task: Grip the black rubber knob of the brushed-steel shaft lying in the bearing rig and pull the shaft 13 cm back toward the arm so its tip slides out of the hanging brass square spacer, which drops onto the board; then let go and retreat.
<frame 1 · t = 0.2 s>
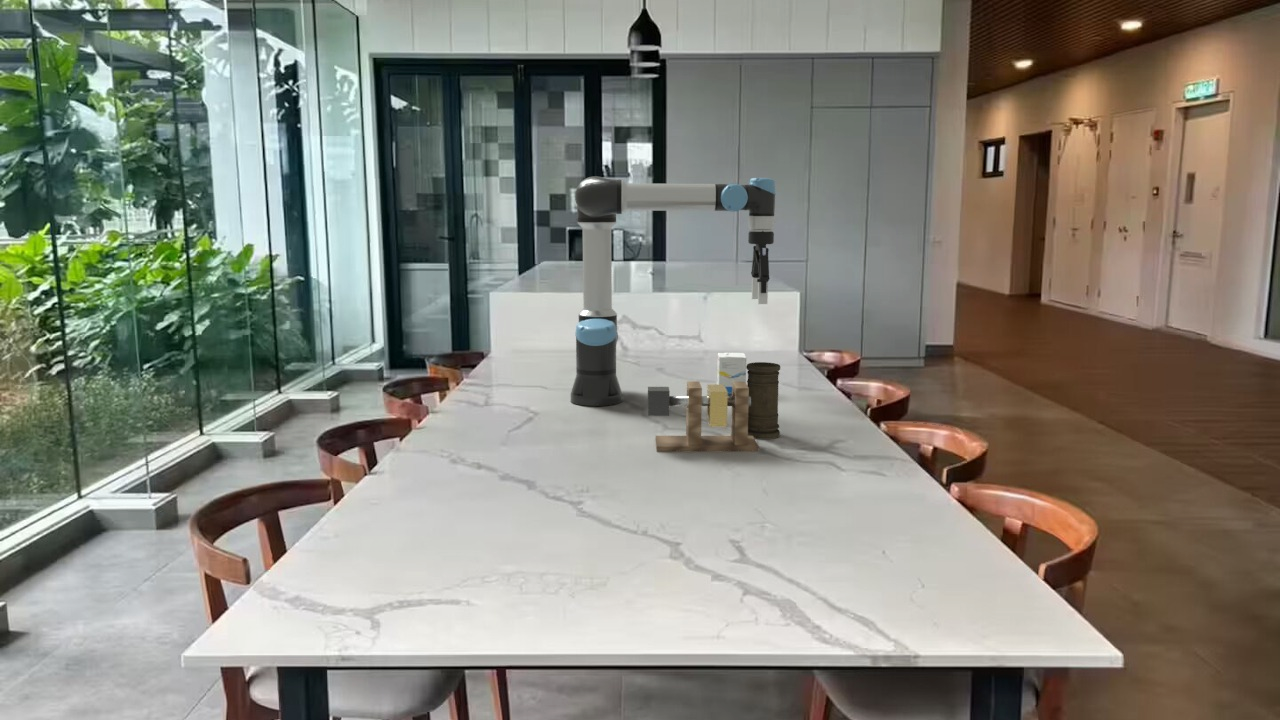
hand: (759, 301, 279), 28 cm above the table, fingers open, 13 cm apart
container: (761, 435, 233), on the table
spacer: (716, 422, 221), point 6 cm above the table, touching shaft
bearing rig: (705, 445, 222), on the table
shaft: (699, 401, 220), point 11 cm above the table, slide at 0.0 cm, touching spacer
ink box: (731, 392, 284), on the table
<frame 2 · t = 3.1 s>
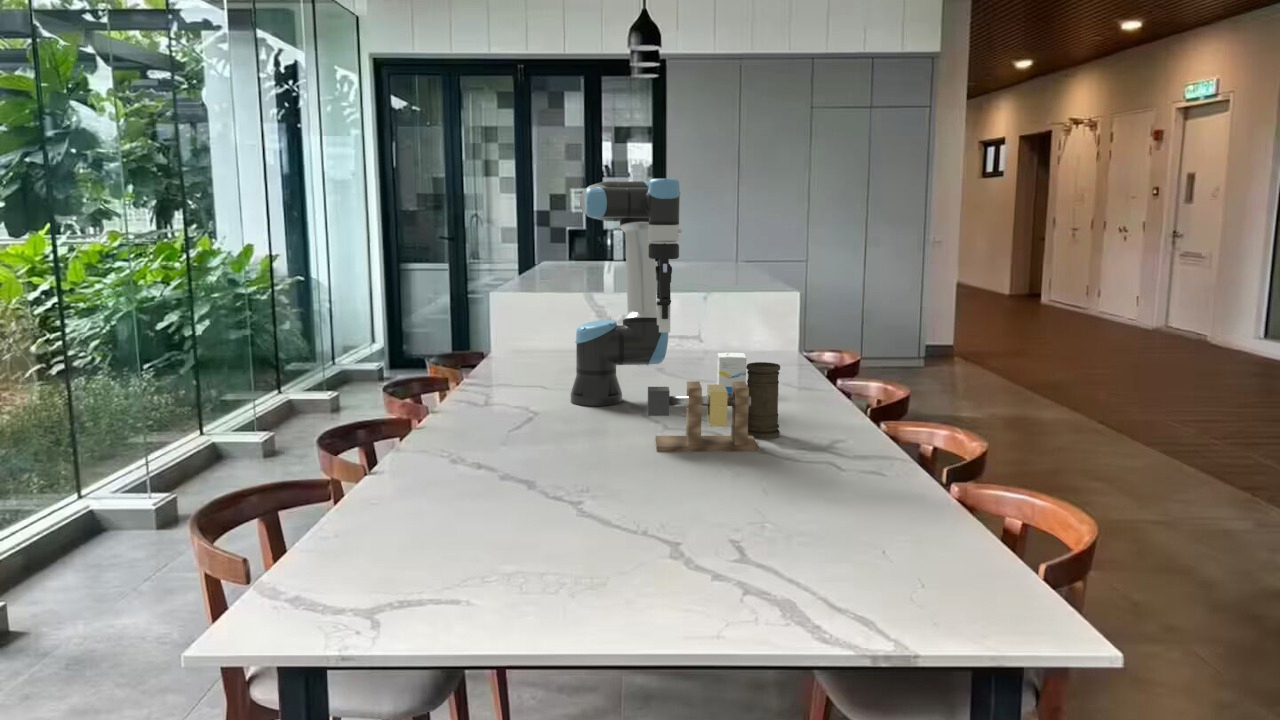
hand: (663, 328, 229), 27 cm above the table, fingers open, 13 cm apart
nothing on the table moved.
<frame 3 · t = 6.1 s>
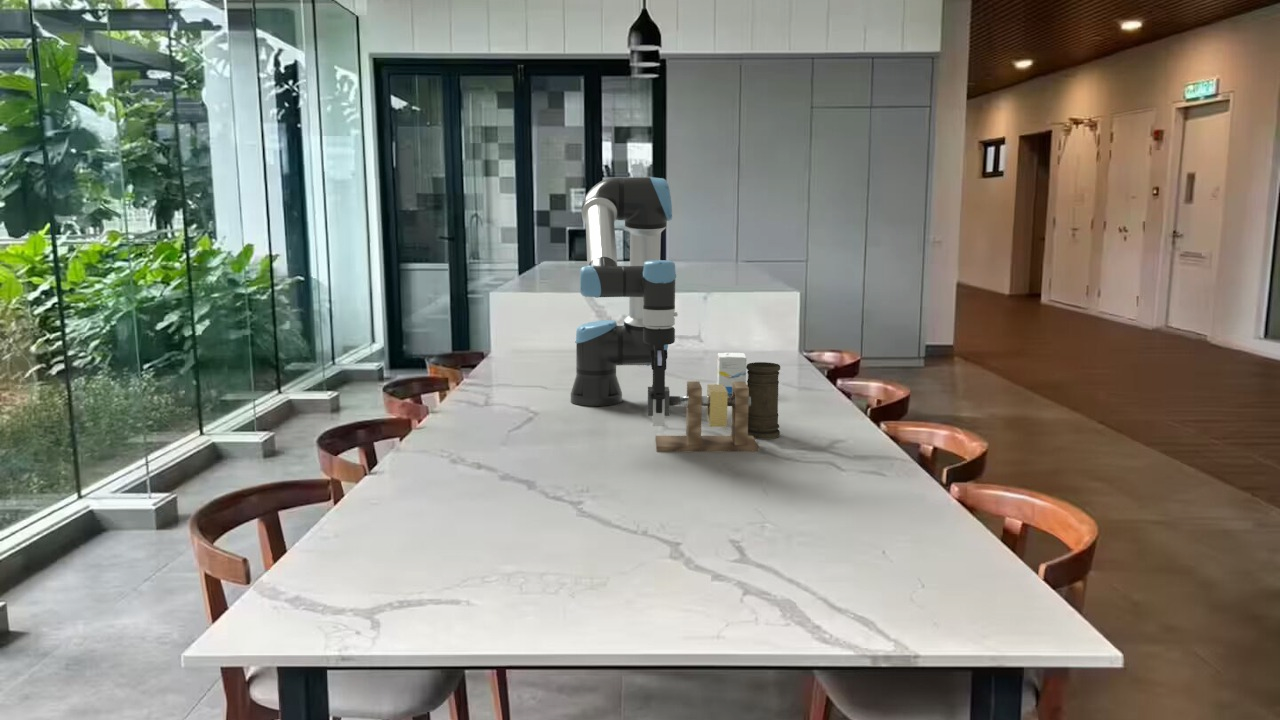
hand: (658, 422, 221), 6 cm above the table, fingers closed on shaft, 5 cm apart
shaft: (699, 401, 220), point 11 cm above the table, slide at 0.0 cm, touching gripper, spacer
everything else where it was.
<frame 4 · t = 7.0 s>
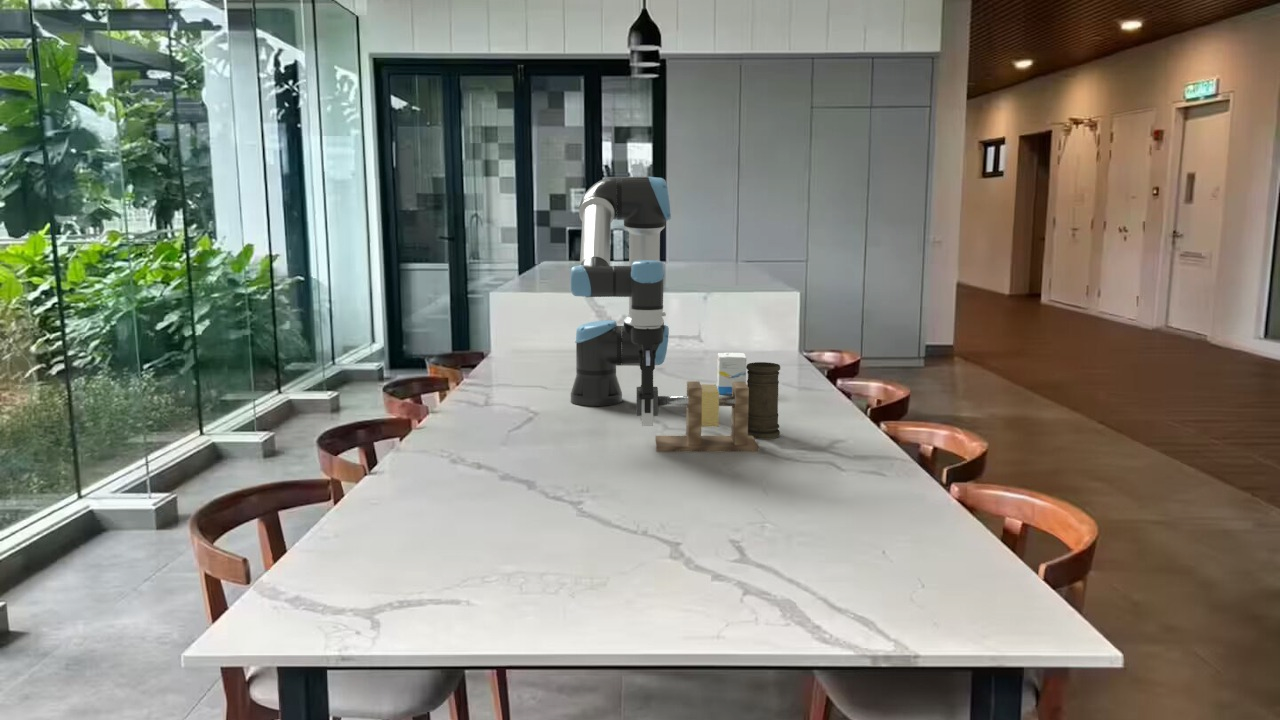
hand: (647, 422, 221), 6 cm above the table, fingers closed on shaft, 5 cm apart
spacer: (708, 422, 221), point 6 cm above the table, touching bearing rig, shaft
shaft: (687, 401, 220), point 11 cm above the table, slide at 2.7 cm, touching gripper, spacer
everything else where it was.
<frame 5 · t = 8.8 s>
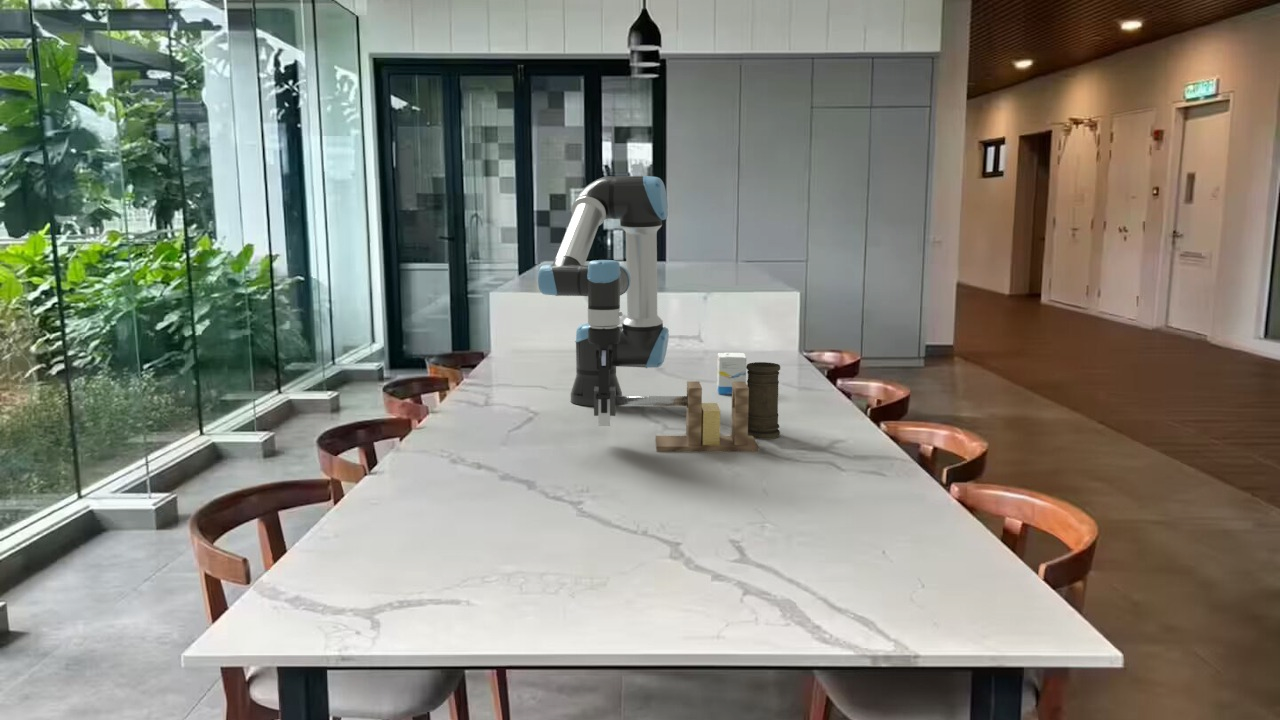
hand: (604, 422, 221), 6 cm above the table, fingers closed on shaft, 5 cm apart
spacer: (709, 440, 222), point 1 cm above the table, touching bearing rig
shaft: (645, 401, 220), point 11 cm above the table, slide at 12.8 cm, touching gripper
everything else where it was.
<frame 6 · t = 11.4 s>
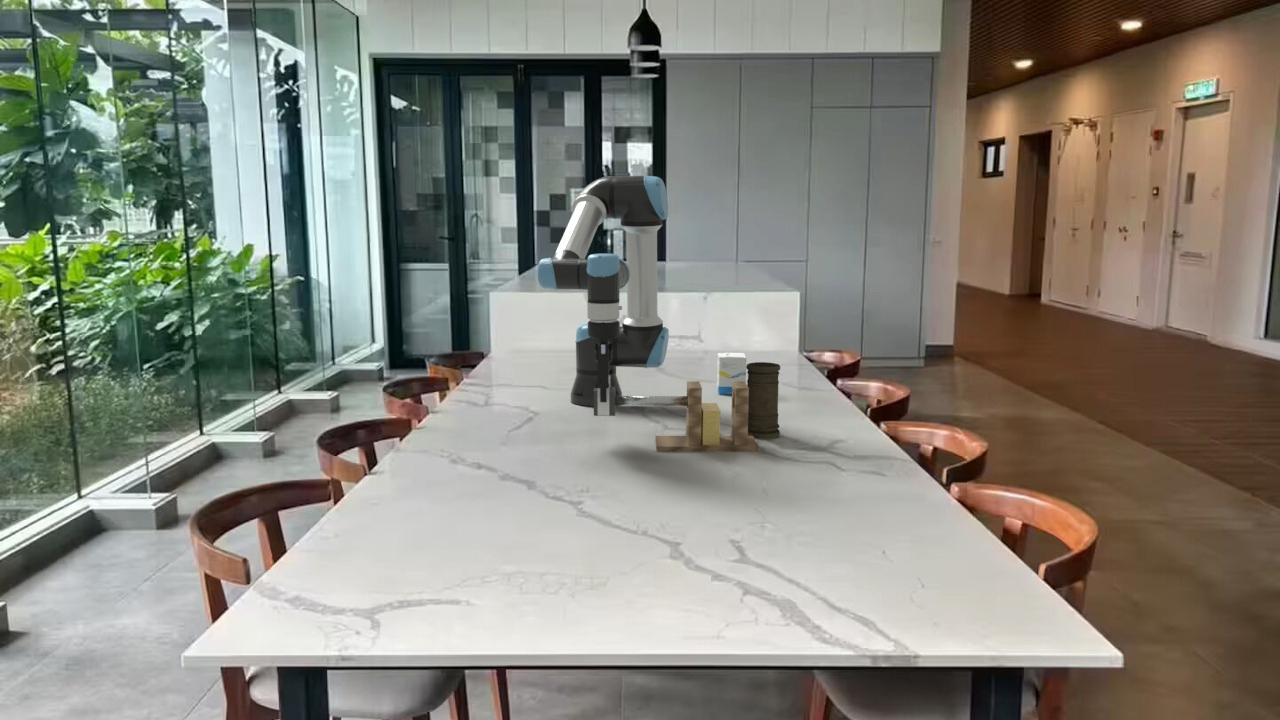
hand: (604, 408, 220), 9 cm above the table, fingers open, 13 cm apart
shaft: (645, 401, 220), point 11 cm above the table, slide at 12.8 cm
everything else where it was.
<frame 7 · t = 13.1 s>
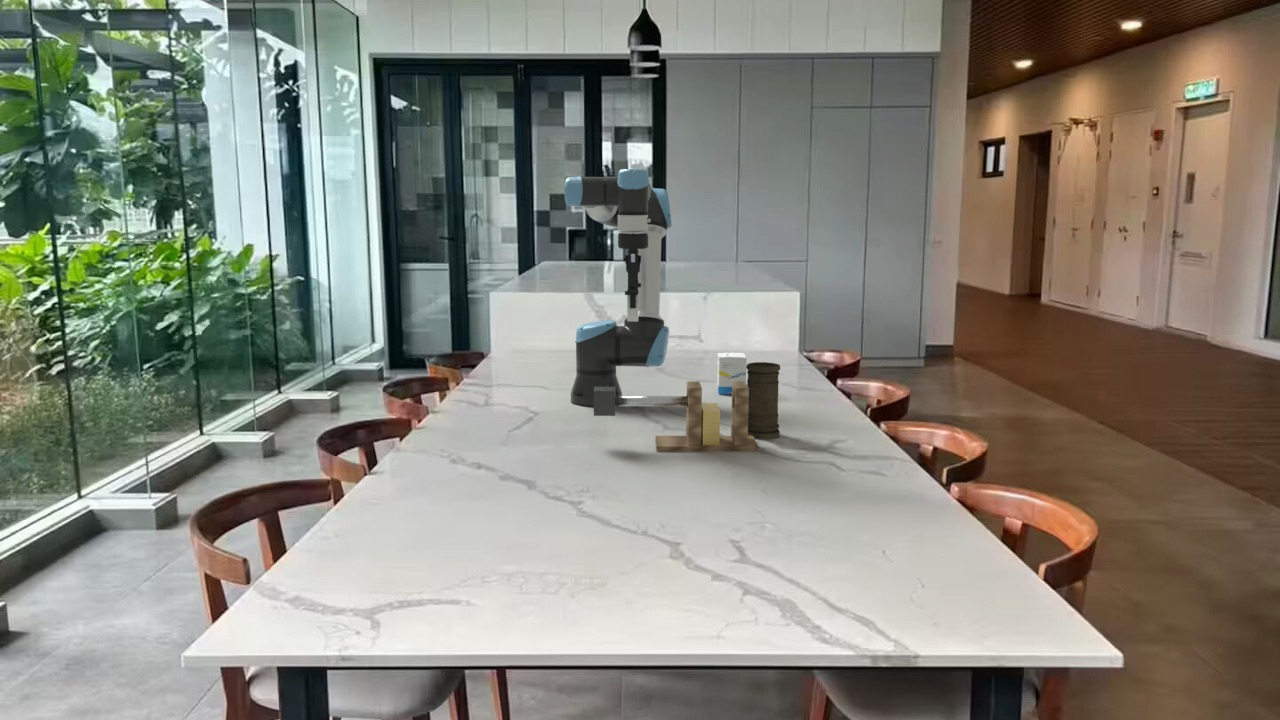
hand: (633, 317, 233), 29 cm above the table, fingers open, 13 cm apart
nothing on the table moved.
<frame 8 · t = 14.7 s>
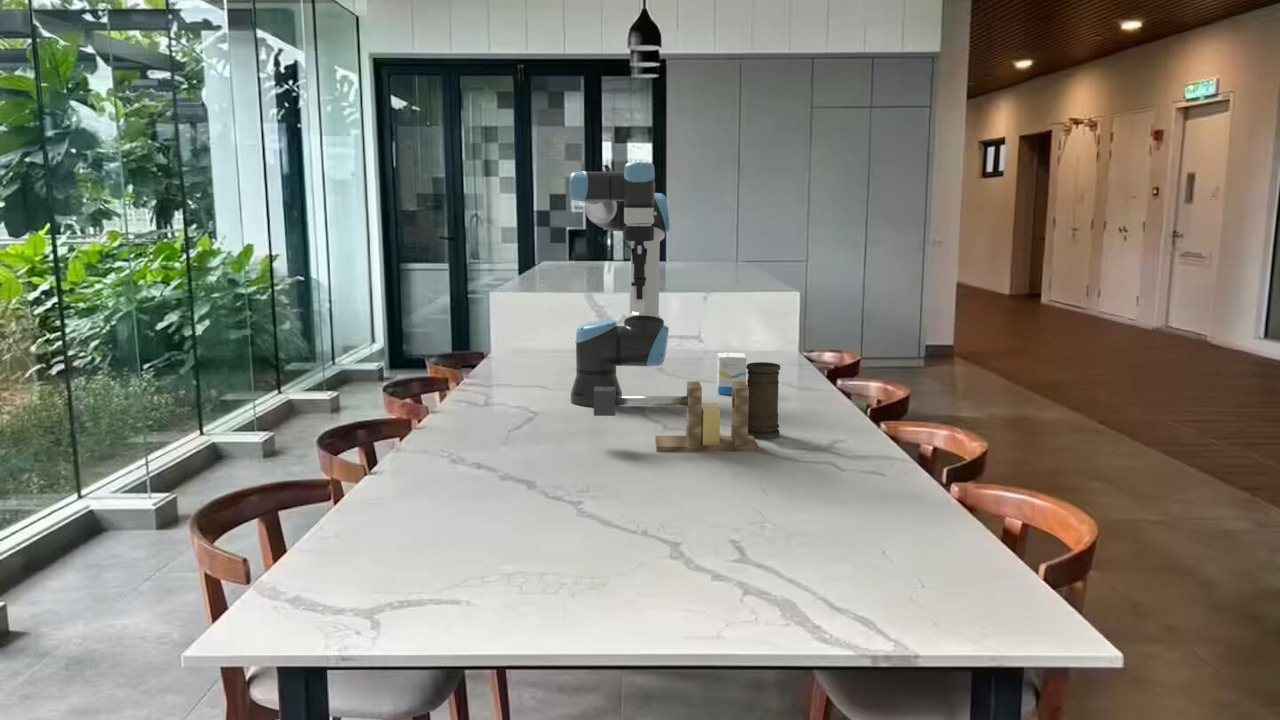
hand: (638, 309, 236), 31 cm above the table, fingers open, 13 cm apart
nothing on the table moved.
at the end: shaft slide at 12.8 cm; spacer point 1.2 cm above the table; spacer touching bearing rig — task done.
